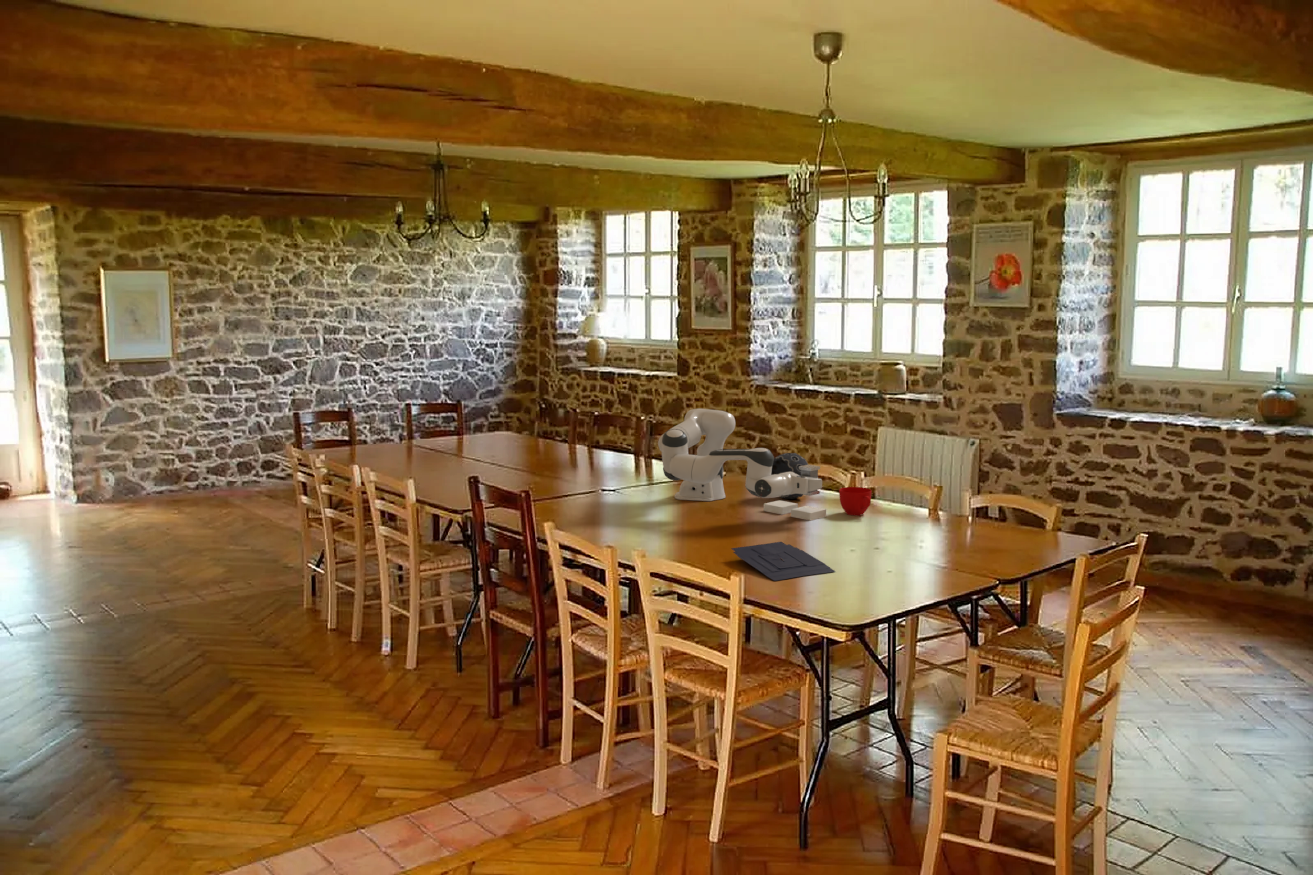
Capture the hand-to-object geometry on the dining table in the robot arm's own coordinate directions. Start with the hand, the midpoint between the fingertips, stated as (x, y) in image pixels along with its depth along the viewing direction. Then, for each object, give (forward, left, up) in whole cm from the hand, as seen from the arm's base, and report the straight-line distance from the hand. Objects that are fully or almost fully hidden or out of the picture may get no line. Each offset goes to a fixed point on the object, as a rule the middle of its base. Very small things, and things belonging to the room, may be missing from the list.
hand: (810, 478), depth 422 cm
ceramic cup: (+19, +5, -16) cm, 25 cm away
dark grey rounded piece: (-8, +36, -16) cm, 40 cm away
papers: (-13, -77, -16) cm, 79 cm away
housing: (-1, -1, -6) cm, 6 cm away
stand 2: (-1, 0, -15) cm, 16 cm away
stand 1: (-12, +10, -15) cm, 22 cm away
